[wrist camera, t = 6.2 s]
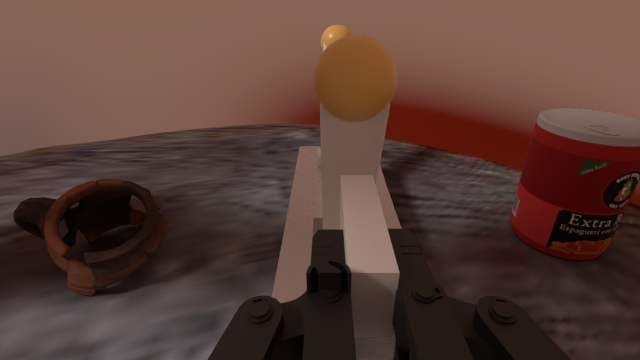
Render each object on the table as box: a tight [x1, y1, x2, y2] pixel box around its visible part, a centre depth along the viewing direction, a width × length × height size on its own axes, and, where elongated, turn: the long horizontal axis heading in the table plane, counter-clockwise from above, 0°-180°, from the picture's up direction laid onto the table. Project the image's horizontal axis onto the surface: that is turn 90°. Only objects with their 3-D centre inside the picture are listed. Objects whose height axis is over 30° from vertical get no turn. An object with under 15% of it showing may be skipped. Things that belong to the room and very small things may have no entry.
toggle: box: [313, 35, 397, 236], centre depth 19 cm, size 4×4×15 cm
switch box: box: [272, 146, 402, 360], centre depth 34 cm, size 10×32×4 cm, turn 179°
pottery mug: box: [14, 179, 172, 296], centre depth 28 cm, size 12×10×8 cm
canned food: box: [510, 108, 640, 260], centre depth 29 cm, size 8×8×11 cm
